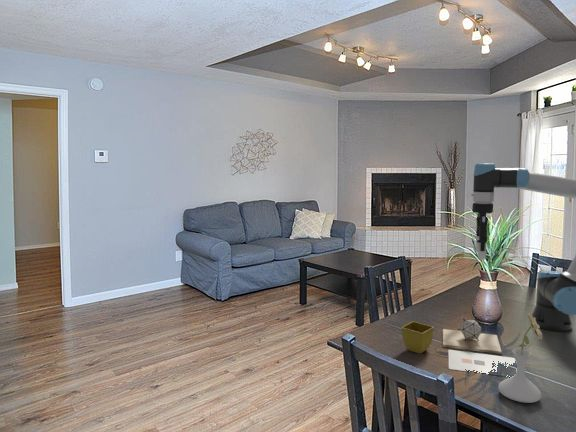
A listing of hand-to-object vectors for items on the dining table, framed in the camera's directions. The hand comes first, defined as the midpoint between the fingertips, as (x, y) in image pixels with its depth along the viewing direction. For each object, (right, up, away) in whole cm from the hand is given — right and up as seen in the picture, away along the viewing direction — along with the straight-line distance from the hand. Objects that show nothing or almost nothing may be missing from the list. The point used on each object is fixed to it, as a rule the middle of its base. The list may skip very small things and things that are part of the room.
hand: (480, 255), depth 176 cm
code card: (-10, -35, -24) cm, 44 cm away
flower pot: (-29, -34, -13) cm, 47 cm away
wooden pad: (-7, -33, -6) cm, 34 cm away
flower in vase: (-8, -38, -45) cm, 59 cm away
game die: (-7, -32, -6) cm, 33 cm away
